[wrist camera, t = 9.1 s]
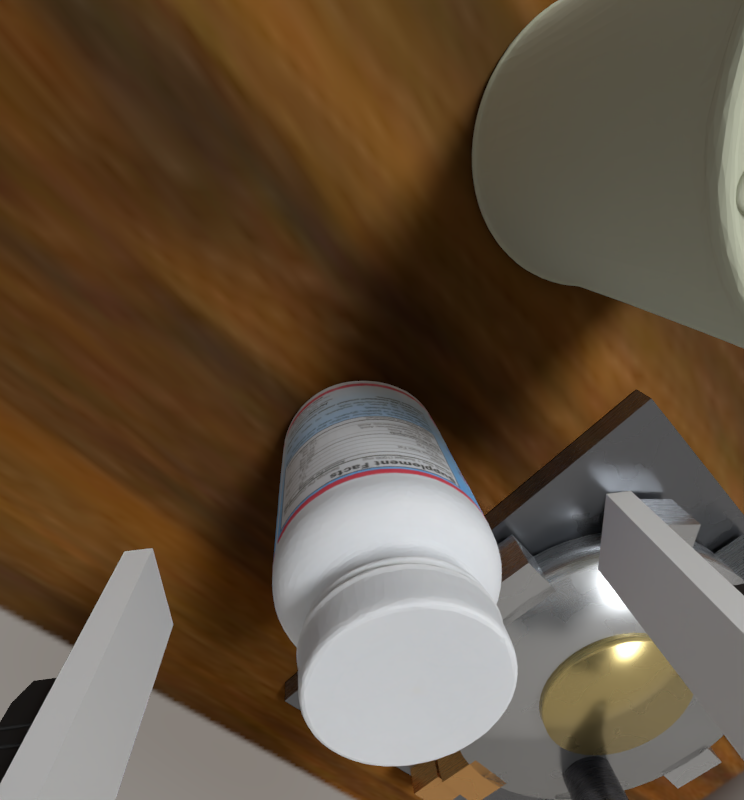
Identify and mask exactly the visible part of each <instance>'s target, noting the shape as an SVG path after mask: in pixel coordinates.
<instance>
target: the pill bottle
mask: <svg viewBox="0 0 744 800" xmlns="http://www.w3.org/2000/svg"><path fill="white" fill-rule="evenodd" d="M501 580H502V565H501V558H500V553H499V549H498V546H497V543H496V540H495V537H494V535H493V533H492V530H491V528H490V526H489V524H488V522H487V520H486V518H485V517H484V515H483V513H482V511H481V509H480V507H479V505H478V503H477V501H476V500H475V498H474V496H473V494H472V492H471V490H470V488H469V485H468V484H467V482H466V480H465V479H464V477H463V475H462V474H461V472H460V470H459V468H458V466H457V464H456V462H455V460H454V459H453V457H452V455H451V453H450V451H449V449H448V447H447V445H446V443H445V441H444V440H443V438H442V436H441V434H440V432H439V430H438V428H437V426H436V424H435V423H434V421H433V419H432V418H431V416H430V414H429V413H428V411H427V410H426V409H425V407H424V406H423V405H422V404H421V403H420V402H419V401H418V400H417V399H416V398H415V397H414V396H412V395H411V394H409V393H408V392H406V391H404V390H402V389H400V388H398V387H395V386H393V385H390V384H386V383H382V382H376V381H351V382H344V383H340V384H337V385H334V386H331V387H328V388H326V389H324V390H322V391H321V392H319V393H317V394H316V395H314V396H313V397H312V398H310V399H309V400H308V401H307V402H306V403H305V404H304V405H303V406H302V407H301V408H300V410H299V411H298V412H297V414H296V415H295V417H294V418H293V420H292V422H291V424H290V426H289V428H288V431H287V434H286V438H285V443H284V449H283V459H282V468H281V478H280V488H279V500H278V512H277V524H276V535H275V547H274V558H273V573H272V591H273V600H274V605H275V610H276V613H277V616H278V618H279V621H280V623H281V625H282V627H283V629H284V631H285V632H286V634H287V635H288V637H289V638H290V640H291V641H292V643H293V644H294V645H295V646H296V647H297V653H296V656H297V666H298V695H299V703H300V708H301V713H302V715H303V717H304V720H305V722H306V724H307V726H308V727H309V729H310V730H311V732H312V733H313V734H314V736H315V737H316V738H317V739H318V740H319V741H320V742H321V743H322V744H323V745H325V746H326V747H327V748H329V749H330V750H332V751H333V752H335V753H337V754H339V755H341V756H343V757H345V758H348V759H351V760H353V761H356V762H360V763H364V764H370V765H377V766H408V765H414V764H420V763H425V762H429V761H433V760H436V759H439V758H442V757H445V756H448V755H450V754H453V753H455V752H457V751H459V750H461V749H463V748H464V747H466V746H468V745H469V744H471V743H473V742H474V741H476V740H477V739H478V738H480V737H481V736H482V735H484V734H485V733H486V732H487V731H489V729H490V728H491V727H492V726H493V725H494V724H495V723H496V722H497V721H498V720H499V719H500V717H501V716H502V714H503V713H504V712H505V710H506V709H507V707H508V705H509V703H510V701H511V699H512V697H513V694H514V691H515V688H516V683H517V675H518V672H517V669H518V665H517V658H516V654H515V650H514V647H513V644H512V641H511V639H510V637H509V635H508V632H507V630H506V628H505V626H504V624H503V619H502V616H501V613H500V611H499V608H498V607H497V602H498V598H499V594H500V589H501Z"/></svg>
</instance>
